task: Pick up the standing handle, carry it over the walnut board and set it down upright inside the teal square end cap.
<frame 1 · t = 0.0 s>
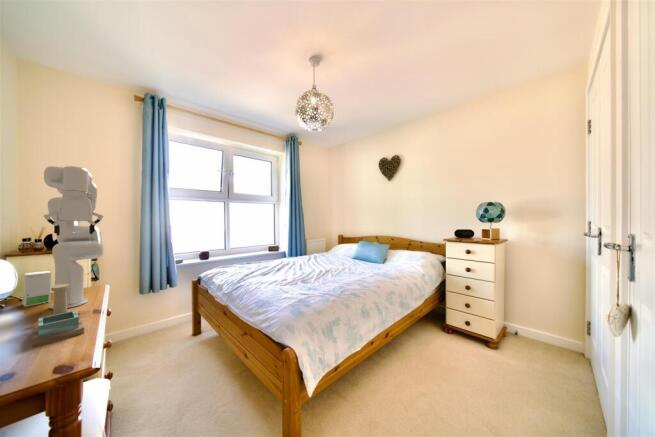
hand: (75, 234, 99), 37 cm above the table, tool pointing down, fingers open, 9 cm apart
skincare box: (37, 303, 115), on the table
handle: (60, 321, 96), on the table
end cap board: (58, 333, 86), on the table
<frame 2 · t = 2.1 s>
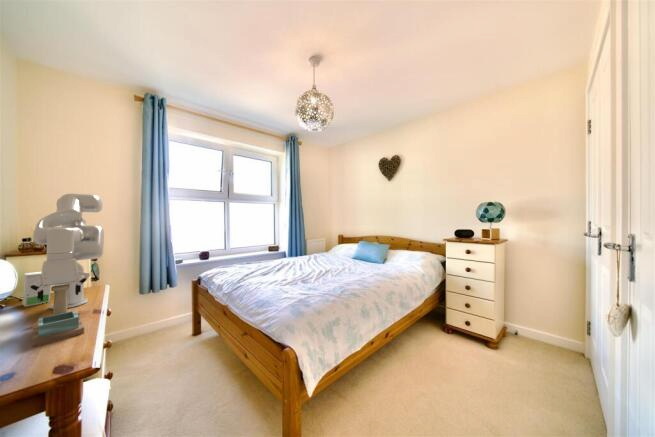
hand: (60, 297, 96), 10 cm above the table, tool pointing down, fingers open, 9 cm apart
nothing on the table moved.
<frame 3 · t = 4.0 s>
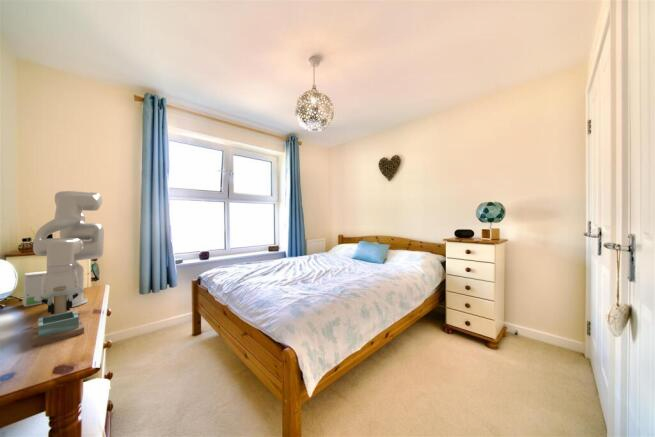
hand: (60, 311, 96), 4 cm above the table, tool pointing down, fingers closed on handle, 3 cm apart
handle: (60, 321, 96), on the table, touching gripper
everything else where it was.
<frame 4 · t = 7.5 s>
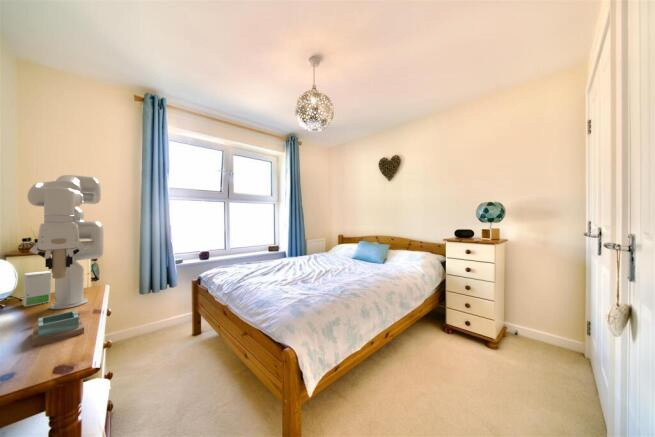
hand: (59, 267, 86), 25 cm above the table, tool pointing down, fingers closed on handle, 3 cm apart
handle: (59, 278, 86), point 21 cm above the table, touching gripper
everything else where it was.
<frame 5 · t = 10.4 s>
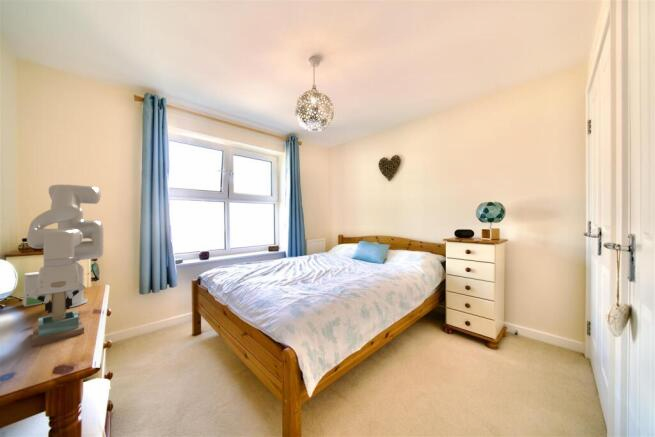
hand: (58, 309, 86), 9 cm above the table, tool pointing down, fingers closed on handle, 3 cm apart
handle: (58, 320, 86), point 5 cm above the table, touching gripper
everything else where it was.
when the fingers open (8 cm above the table, at t = 11.5 s): handle drops 2 cm, resting on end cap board.
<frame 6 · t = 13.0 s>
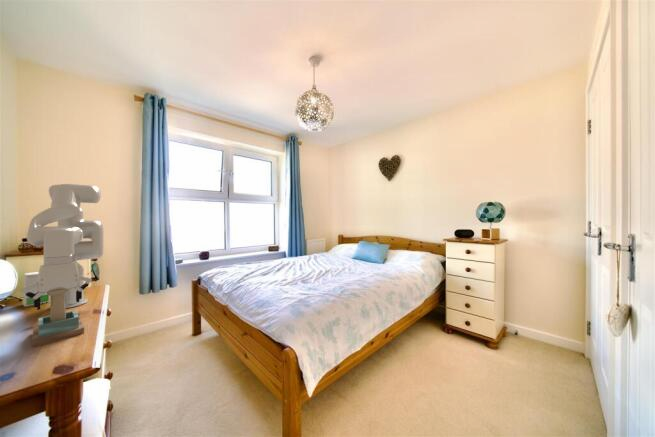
hand: (59, 304, 87), 11 cm above the table, tool pointing down, fingers open, 9 cm apart
handle: (58, 328, 86), point 2 cm above the table, touching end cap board
everything else where it was.
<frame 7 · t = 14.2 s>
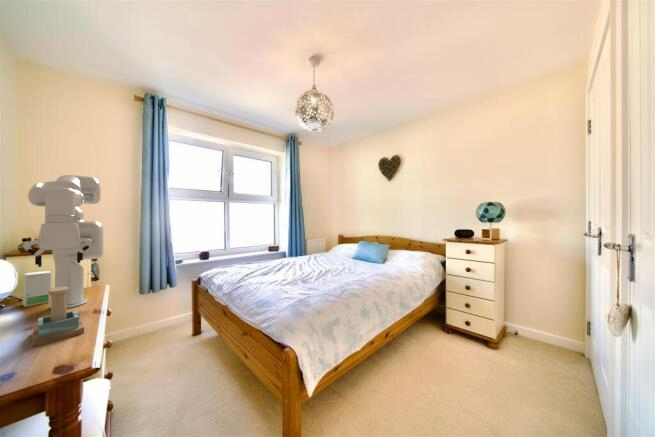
hand: (60, 264, 87), 26 cm above the table, tool pointing down, fingers open, 9 cm apart
nothing on the table moved.
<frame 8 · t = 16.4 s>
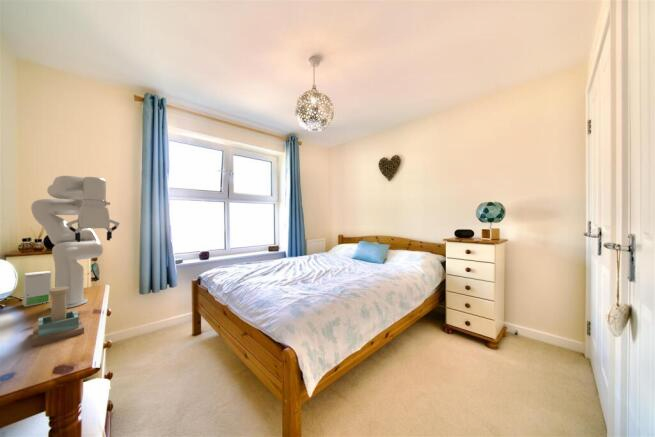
hand: (94, 241, 105), 33 cm above the table, tool pointing down, fingers open, 9 cm apart
nothing on the table moved.
at the end: handle 0.2 cm off-centre on the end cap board, point 1.8 cm above the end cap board's base; handle tilted 1°; the gripper is holding nothing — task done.
